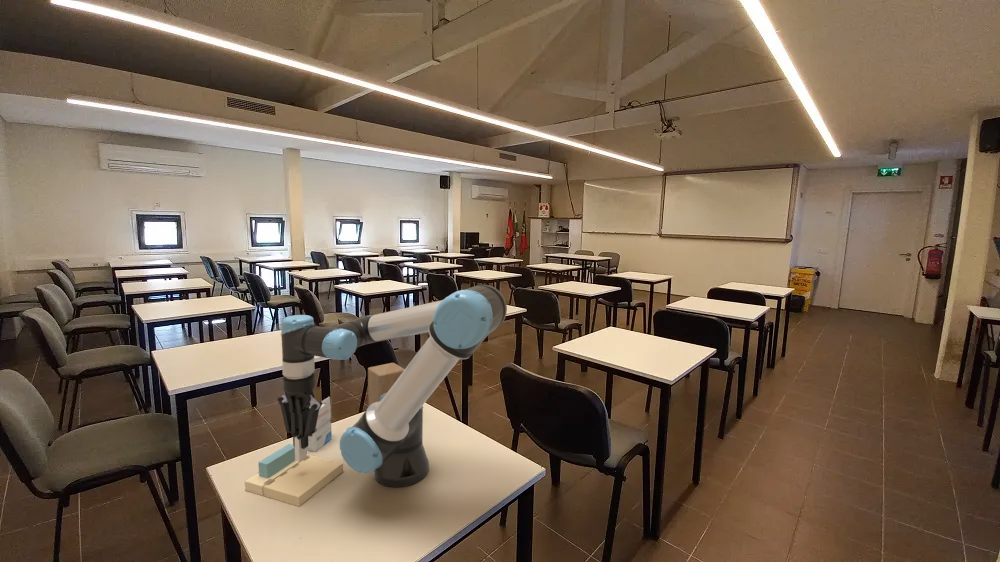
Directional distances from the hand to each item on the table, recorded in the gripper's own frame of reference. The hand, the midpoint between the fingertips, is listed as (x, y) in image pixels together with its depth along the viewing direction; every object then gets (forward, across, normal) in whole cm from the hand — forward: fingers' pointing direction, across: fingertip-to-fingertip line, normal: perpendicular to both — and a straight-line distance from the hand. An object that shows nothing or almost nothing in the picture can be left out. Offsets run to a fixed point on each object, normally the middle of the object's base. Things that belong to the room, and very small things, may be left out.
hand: (301, 458), depth 110 cm
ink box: (+7, +10, -17) cm, 21 cm away
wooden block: (+7, -1, -38) cm, 39 cm away
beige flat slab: (+7, -1, 0) cm, 7 cm away
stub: (+7, +8, 0) cm, 11 cm away
